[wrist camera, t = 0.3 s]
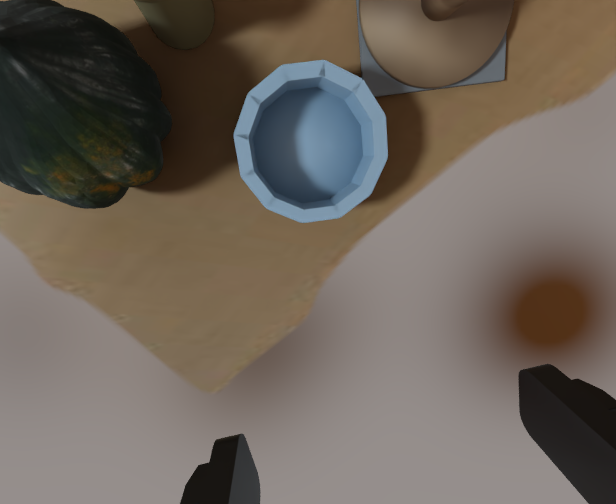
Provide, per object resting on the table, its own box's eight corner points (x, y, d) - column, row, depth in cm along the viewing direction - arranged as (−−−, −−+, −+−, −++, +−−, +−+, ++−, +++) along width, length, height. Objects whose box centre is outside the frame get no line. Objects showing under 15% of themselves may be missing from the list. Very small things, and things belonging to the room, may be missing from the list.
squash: (37, 248, 30) (33, 208, 18) (-93, 87, 26) (-202, -93, 14) (174, 184, 38) (232, 128, 26) (90, 55, 34) (113, -76, 23)
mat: (351, -76, 29) (352, -81, 28) (507, -93, 29) (511, -98, 29) (363, 98, 33) (364, 97, 32) (500, 81, 33) (504, 79, 33)
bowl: (232, 86, 32) (222, 72, 27) (366, 69, 32) (382, 52, 27) (255, 218, 36) (250, 230, 30) (374, 202, 36) (390, 211, 31)
